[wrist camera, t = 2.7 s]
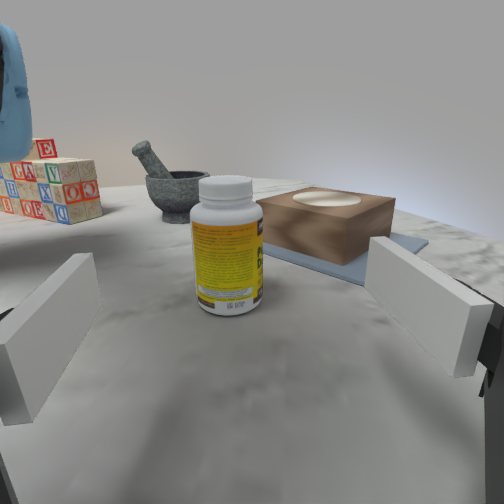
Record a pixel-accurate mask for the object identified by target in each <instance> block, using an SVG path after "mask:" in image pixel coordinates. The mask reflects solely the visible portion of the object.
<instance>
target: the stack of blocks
mask: <svg viewBox="0 0 504 504" xmlns="http://www.w3.org/2000/svg"><path fill="white" fill-rule="evenodd" d="M96 179H97V175H96V170H95V165H94V160H93V159H80V158H58V157H57V152H56V148H55V144H54V140H53V139H41V138H40V139H39V138H38V139H37V138H34V139H32V147H31V151H30V153H29V154H28V156H27V157H26V158H24V159H23V160H20V161H17V162H10V163H1V164H0V211H2V212H6V213H11V214H16V215H21V216H28V217H33V218H39V219H44V220H49V221H54V222H59V223H64V224H74V223H78V222H81V221H85V220H88V219H92V218H95V217H99V216H102V215H103V212H102V206H101V202H100V195H99V190H98V184H97V180H96Z"/></svg>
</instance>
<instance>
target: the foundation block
mask: <svg viewBox="0 0 504 504" xmlns="http://www.w3.org/2000/svg"><path fill="white" fill-rule="evenodd" d="M395 200H396V199H395V198H390V197H383V196H376V195H368V194H360V193H354V192H345V191H339V190H332V189H324V188H317V187H309V188H305V189H301V190H297V191H293V192H289V193H285V194H281V195H277V196H273V197H269V198H265V199H260V200H256V203H257V204H259V205H260V206H261V208H262V211H263V242H265V243H268V244H271V245H275V246H278V247H281V248H285V249H288V250H291V251H295V252H298V253H301V254H305V255H308V256H311V257H315V258H318V259H321V260H325V261H328V262H331V263H335V264H338V265H341V266H344V265H345V264H347V263H349V262H350V261H352V260H354V259H355V258H357V257H358V256H360V255H362V254H363V253H365V252H367V251H368V250H369V243H370V237H381V236H385V237H387V238H389V237H390V232H391V225H392V219H393V212H394V206H395Z"/></svg>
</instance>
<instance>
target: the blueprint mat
mask: <svg viewBox="0 0 504 504" xmlns="http://www.w3.org/2000/svg"><path fill="white" fill-rule="evenodd" d="M389 239H390V240H392V241H393V242H395V243H397V244H398V245H400V246H401V247H403V248H405V249H406V250H408V251H410V252H411V253H413V254H415V253H417V252H418V251H419V250H420V249H422V248H423V247H424V246H425V245H427V244H428V241H429V240H425V239H420V238H415V237H410V236H405V235H401V234H396V233H391V232H390V237H389ZM368 251H369V250H368ZM368 251H367V252H365V253H363V254H362V255H360V256H358V257H357V258H355V259H354V260H352V261H350V262H349V263H347V264H345V265H344V266H341V265H338V264H335V263H331V262H328V261H325V260H321V259H318V258H315V257H311V256H308V255H305V254H301V253H298V252H295V251H291V250H288V249H285V248H281V247H278V246H275V245H271V244H268V243H265V242H263V253H264V254H267V255H270V256H273V257H276V258H279V259H283V260H286V261H289V262H292V263H295V264H298V265H301V266H304V267H307V268H310V269H313V270H316V271H319V272H322V273H325V274H328V275H331V276H334V277H337V278H340V279H343V280H346V281H349V282H352V283H355V284H358V285H361V286H364V284H365V276H366V267H367V259H368Z"/></svg>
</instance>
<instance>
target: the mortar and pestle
mask: <svg viewBox="0 0 504 504" xmlns="http://www.w3.org/2000/svg"><path fill="white" fill-rule="evenodd" d="M132 153H133V155H135V156H137V157H138V159H139V160H140V161H141V163H142V165H143V166H144V168H145V170H146V171H147V173H148V174H149V175H146V186H147V190H148V193H149V197H150V198H151V200H152V201H153V203H154V204H155V206H157V207H158V208H159V209H161V210H162V211H163V222H167V223H170V224H184V223H190V211H191V209H192V208H193V207H194V206H195V205H196V204H198V203H201V202H200V201H199V197H200V196H199V183H198V182H199V180H200V179H202V178H205V177H210V175H209V174H208V173H207V172H201V171H170V172H169V171H168V170H167V169H166V168H165V166H164V165H163V164H162V162H161V161H160V160H159V158H158V157H157V156H156V155H155V153H154V152H153V151H152V149H151V145H150V143H149V142H148V141H142V142H140V143H138V144H136V145H135V146H134V147H133V148H132Z"/></svg>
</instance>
